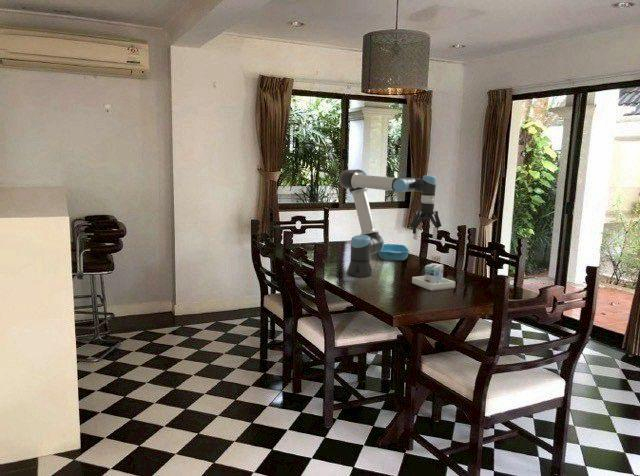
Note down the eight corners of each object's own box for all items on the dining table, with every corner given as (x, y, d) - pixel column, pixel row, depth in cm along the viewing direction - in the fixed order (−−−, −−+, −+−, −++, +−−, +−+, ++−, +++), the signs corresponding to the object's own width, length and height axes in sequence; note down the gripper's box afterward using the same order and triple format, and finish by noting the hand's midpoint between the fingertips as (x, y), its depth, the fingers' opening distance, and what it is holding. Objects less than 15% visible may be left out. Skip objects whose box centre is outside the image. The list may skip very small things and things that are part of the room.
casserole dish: (373, 251, 382) (374, 242, 381) (403, 252, 382) (403, 243, 381) (378, 262, 346) (379, 251, 345) (411, 262, 346) (411, 252, 344)
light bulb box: (434, 286, 278) (435, 267, 276) (423, 284, 282) (424, 265, 280) (442, 283, 286) (444, 264, 285) (431, 281, 290) (433, 262, 289)
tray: (431, 290, 273) (432, 284, 272) (412, 283, 289) (412, 277, 288) (455, 288, 280) (455, 282, 279) (434, 280, 296) (434, 274, 295)
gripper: (413, 203, 282) (410, 240, 285) (449, 203, 292) (446, 239, 295) (405, 202, 289) (403, 238, 292) (441, 201, 298) (438, 237, 302)
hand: (424, 239), depth 294 cm, fingers open, 13 cm apart
